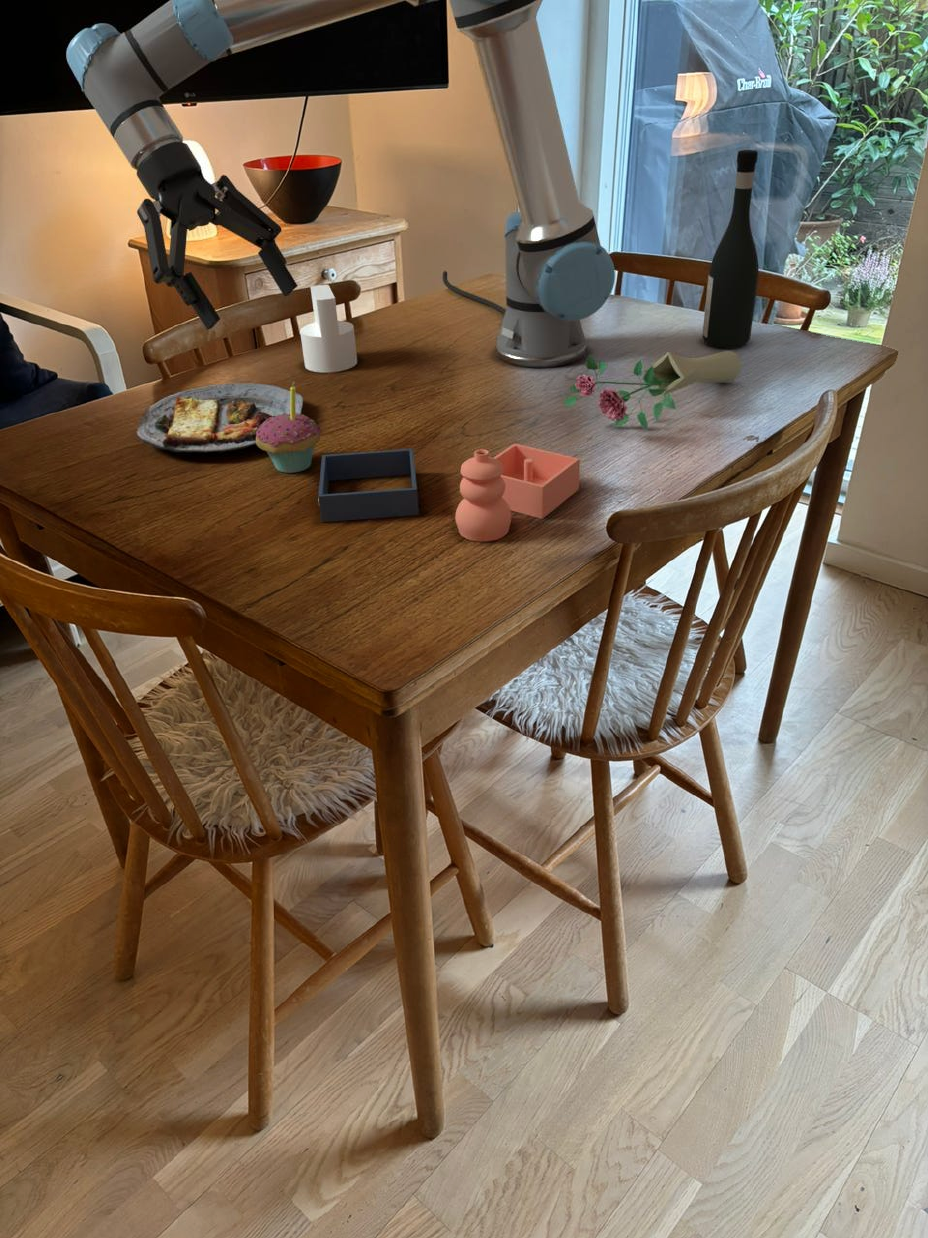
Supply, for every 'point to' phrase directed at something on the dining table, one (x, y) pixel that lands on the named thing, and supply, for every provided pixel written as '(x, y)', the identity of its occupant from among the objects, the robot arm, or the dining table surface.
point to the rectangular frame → (367, 501)
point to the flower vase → (657, 382)
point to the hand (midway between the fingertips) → (253, 307)
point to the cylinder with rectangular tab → (327, 336)
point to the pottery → (512, 488)
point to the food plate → (213, 417)
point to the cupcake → (289, 438)
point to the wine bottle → (734, 269)
